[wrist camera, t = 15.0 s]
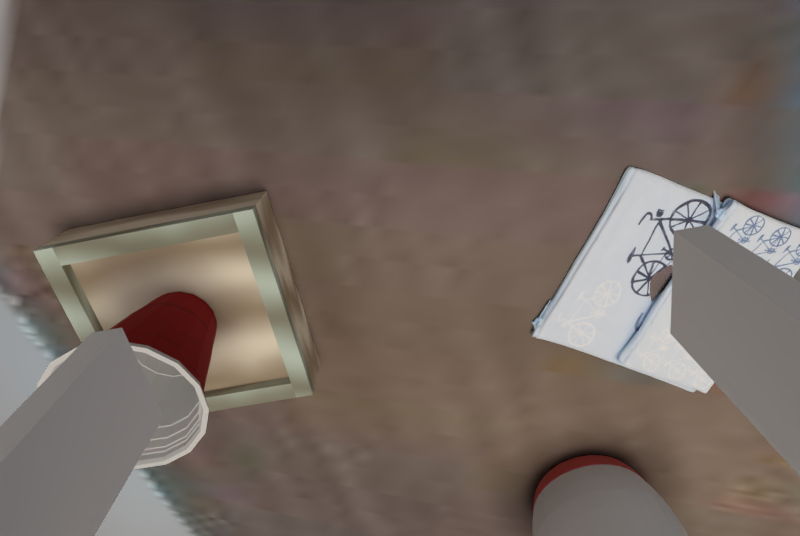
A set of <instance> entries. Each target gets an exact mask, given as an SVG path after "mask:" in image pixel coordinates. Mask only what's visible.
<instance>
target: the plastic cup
mask: <svg viewBox="0 0 800 536" xmlns="http://www.w3.org/2000/svg"><path fill="white" fill-rule="evenodd" d="M116 328H122V329H123V331H124V333H125V335H126V337H127V339H128V341H129V343H130V345H131V347H132V350H133V352H134V354H135V356H136V358H137V360H138V362H139V364H140V366H141V368H142V370H143V372H144V375H145V377H146V379H147V381H148V383H149V385H150V387H151V389H152V391H153V393H154V395H155V397H156V399H157V402H158V404H159V406H160V408H161V410H162V412H163V414H164V417H163V419H162V421H161V422H160V424H159V426H158V427H157V429H156V431H155V433H154V434H153V436H152V438H151V439H150V441H149V443H148V445H147V446H146V448H145V450H144V451H143V453H142V455H141V457H140V458H139V460H138V462H137V463H136V465H135V467H134V469H139V468H146V467H152V466H158V465H165V464H168V463H170V462H172V461H174V460H176V459H178V458H180V457H181V456H183V455H185V454H187V453H189V452H191V451H192V449H193V448H194V447H195V445H196V444H197V443H198V442H199V440H200V439H201V438H202V437H203V435H204V434H205V432H206V426H207V419H208V413H209V406H208V403H207V400H206V398H205V392H204V388H205V383H206V378H207V374H208V369H209V365H210V361H211V355H212V349H213V344H214V340H215V336H216V329H217V321H216V318H215V315H214V312H213V310H212V309H211V308H210V307H209V305H208V304H207V303H206V302H205V301H204V300H202V299H200V298H199V297H197V296H195V295H194V294H190V293H185V292H181V291H179V292H171V293H166V294H163V295H161V296H160V297H158V298H156V299H154V300H153V301H151V302H150V303H148V304H147V305H145V306H144V307H142V308H140V309H139V310H137V311H135V312H133V313H132V314H130V315H129V316H128V317H126V318H125V319H123V320H122V321H120V322H119V323H118V324H116V325H115V326H113V327H112V328H110V329H116ZM110 329H109V330H110ZM78 347H79V346H78ZM78 347H76V348H74V349H73V350H71V351H69V352H68V353H66V354H64V355H62V356H61V357H59V358H57V359H56V360H54V361H52V362H51V363H50V364H49V366H48V367H47V369H46V371H45V372H44V374H43V376H42V378H41V379H40V380H39V382H38V384H37V388H38V387H39V386H40V385H41V384H42V383H43V382H44V381H45V380H46V379H47V378H48V377H49V376H50V375H51V374H52V373H53V372H54V371H55V370H56V369H57V368H58V367H59V366H60V365H61V364H62V363H63V362H64V361H65V360H66V359H67V358H68V357H69V356H70V355H71V354H72V353H73V352H74V351H75V350H76V349H77V348H78Z"/></svg>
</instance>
